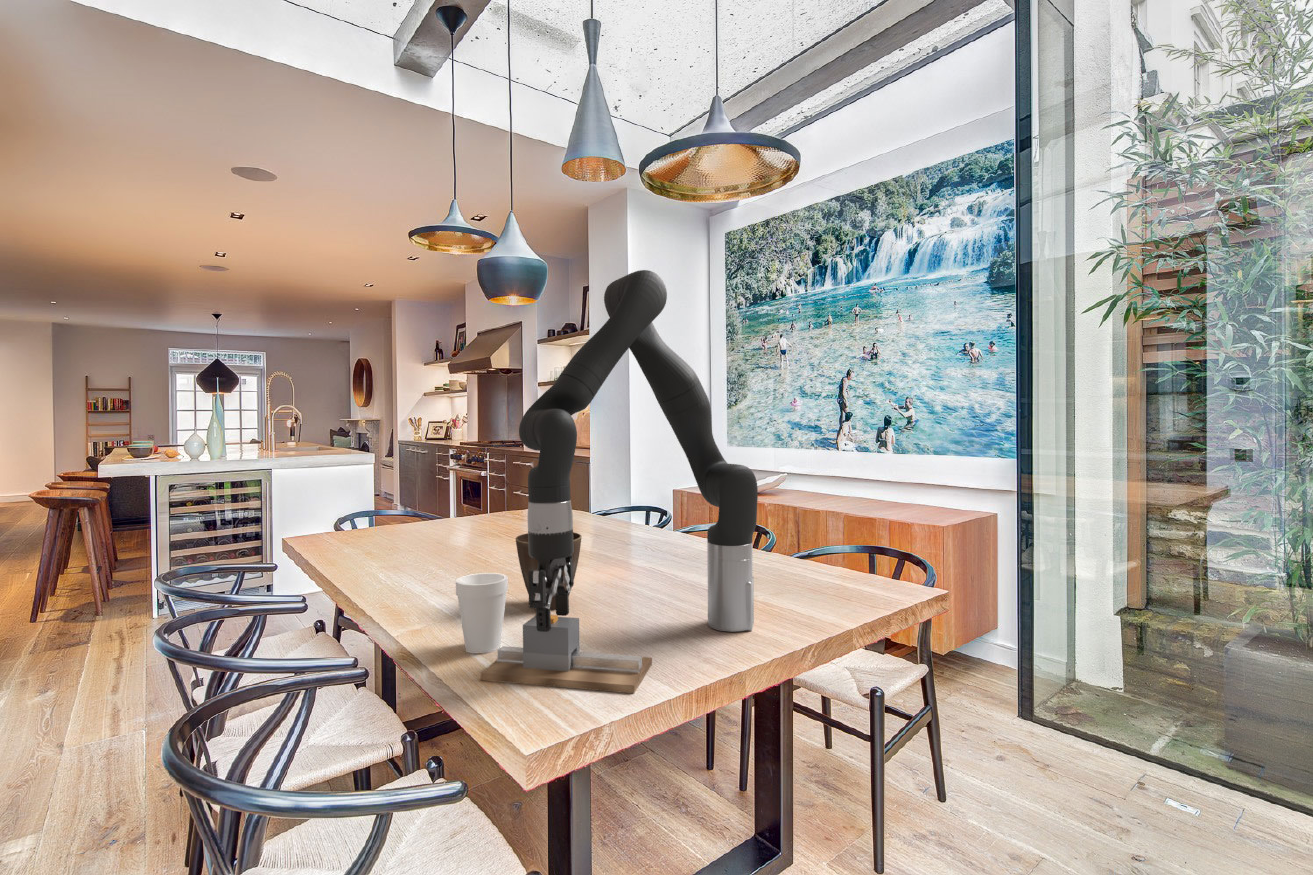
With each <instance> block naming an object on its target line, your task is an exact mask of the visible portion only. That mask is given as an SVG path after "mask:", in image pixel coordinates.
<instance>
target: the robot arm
mask: <svg viewBox="0 0 1313 875" xmlns="http://www.w3.org/2000/svg"><path fill="white" fill-rule="evenodd" d="M667 299H668V292H667V288H666V284H665V283H664V280H663V279H662V277H661V276H659V274H657V273H655V272H654V271H651V270H648V269H641V270H635V271H632V272H630V273H629V274H626V275H624V276H621V277H619V278H618V279H615V280H614V281H612V282H610V283H609V284H608V285H607V286H606V289H605V292H604V296H603V301H604V307H605V310H606V313H607V315H608V317H609V318H608V319H607V321H606V322H605V323H604V324H603V325H602V327H601V328H599V329H598V331H597V332H596V333H594V335H593V336H591V337H590V339H588V340H587V341H586V342H585V343H584V344H583V345H582V346H581V347H580V348H579V349H578V350H577V351H576V353H575V354H574V355H573V356H572V357H571V359H570V360H569V362H568V363H567V364H566V365H565V367H564V369H563V370H562V371H561V373H560V374H559V376H558V377H557V378H556V380H555V382H554V383H553V385H551V387H549V388H548V389H547V390H546V391H544V393H543V394H541V395H540V397H539V398H537V399H536V400H535V401H534V402H533V403H532V405H530V407H529V408H528V409H527V410H526V412H525V413H524V415H523V416H522V418H521V420H520V423H519V426H518V436H519V439H520V441H521V444H523V446H525V447H527V449H530V450H533V451H539V454H538V455H539V456H538V461H537V465H536V466H534V467H532V468H530V469H529V472H528V474H527V476H528V477H527V492H528V493H527V494H528V495H527V497H528V498H527V499H528V503H527V504H528V507H527V533H528V548H529V556H530V557H532V558H535V559H537V560H538V567H537V570H530V571H529V595H528V607H529V609H535V616H536V625H537V630H538V631H540V632H548V631H549V630H550V629H551V615H552V614H551V610H550V605H551V600H552V597H553V596H555V602H556V610H555V615H558V617H566V616H568V615H569V613H570V605H569V604H570V601H569V600H570V598H569V597H570V594H571V591H570V587H574V584H575V582H574V581H575V578H574V579H573V560H572V554H573V552H574V543H573V532H574V520H573V519H574V518H573V516H574V515H573V508H572V501H571V499H572V498H571V471H572V467H573V463H574V458H575V453H576V449H577V440H578V432H577V426H576V422H575V420H574V418H573V417H572V416H573V415H574V414H577V413H579V412H582V411H584V410H586V409H587V407H589V406H590V404H591V403H592V401H593V400H594V398H595V397H596V395H597V393H598V392H599V391H600V389H601V388H602V385H603V384H604V383H605V381H606V380H607V378H608V377H609V375H610V374H611V372H612V371H613V369H614V368H615V367H616V365H617V364H618V363H619V361H621V358H622V357H623V356H624V354H626V352H627V351H628V349H629V350H630V351H631V353H632V355H633V357H634V358H635V361H637V364H638V366H639V368H640V369H641V371H642V373H643V375H644V377H645V379H646V381H647V383H648V384H649V386H650V388H651V391H652V392H653V394H654V396H655V399H656V400H657V403H658V406H660V409H661V410H662V411H661V412H663V414H664V416H665V418H666V420H667V421H668V424H669V426H670V427H671V428H672V429H671V430H672V431H673V433H674V435H675V436H676V439H677V441H678V443H679V445H680V446H681V449H682V451H683V453H684V455H685V457H686V459H687V461H688V463H689V465H690V466H689V467H690V468H691V471H692V474H693V477H694V479H695V481H696V482H695V483H696V485H697V487H698V488H699V491H700V493H701V496H702V497H703V498H704V500H705V501H706V502H707V503H708V504H710V505H712V506H713V507H716V508H718V518H717V519H718V520H717V522H716V523H715V524H713V525H711V526H709V527H708V528H707V531H706V532H707V534H706V538H707V540H706V543H707V546H706V548H707V549H706V550H707V552H706V553H707V561H706V562H707V626H708V627H709V628H711V629H714V630H717V631H720V632H721V631H722V632H729V633H730V632H733V633H734V632H744V631H753V627H754V622H755V608H754V607H755V602H754V601H755V598H754V597H755V583H754V582H755V581H754V580H755V579H754V576H753V571H754V569H753V565H754V564H753V560H754V559H753V556H754V555H753V540H754V539H753V536H754V533H755V530H756V528H757V520H758V519H757V518H758V517H757V516H758V500H759V499H758V498H759V496H758V493H759V489H758V482H757V479H756V475H755V473H754V471H753V470H752V469H751V468H749V467H748V466H746V465H743V464H735V463H728V462H727V460H726V459H725V457H724V456H723V455H722V453H721V451H720V450H719V448H718V445H717V444H716V441H715V438H714V434H713V426H712V410H711V409H712V408H711V402H710V400H709V397H708V395H707V392H706V391H705V388H704V387H703V385H702V383H701V381H700V378H699V377H698V375H697V373H696V371H695V370H694V369H693V368H692V367H691V365H689V364H688V362H687V361H685V360H684V358H682V357H681V356H679V355H678V354H677V353H676V352H675V351H673V349H671V347H669V345H667V344H666V342H664V340H663V339H662V337H661V336H660V335H659V333H658V332H657V329H656V327H655V325H654V323H653V322H654V321H655V319H656V318H657V317H658V316H660V314H661V313H662V311H663V310H664V308H665V306H666V304H667ZM534 593H535V594H536V596H535V598H534ZM556 593H557V594H556ZM568 593H570V594H568ZM546 596H547V597H546Z"/></svg>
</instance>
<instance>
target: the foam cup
mask: <svg viewBox="0 0 1313 875" xmlns="http://www.w3.org/2000/svg"><path fill="white" fill-rule="evenodd" d="M508 590H509V579H508V575H507V574H503V573H498V572H497V573H496V572H479V573H472V574H467V575H462V576H459V577H457V579H455V596H457V600H458V601H457V602H458V608H459V614H460V615H459V616H460V621H461V627H462V628H461V629H462V634H463V635H462V636H463V641H464V642H463V643H464V646H465V651H466V652H467V651H468V653H469V654H474V653H482V654H488V653H493V652H495V651H497V649H498V648H499V647H500V648H501V644H502V634H503V627H504V626H503V625H504V618H505V608H506V601H507V594H508V593H507V592H508ZM500 648H499V649H500Z"/></svg>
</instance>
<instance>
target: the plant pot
mask: <svg viewBox="0 0 1313 875" xmlns="http://www.w3.org/2000/svg"><path fill="white" fill-rule="evenodd" d="M582 537H583V536H582V535H581V534H580V533H578V532H574V531H573V543H574V552H573V554H572V560H573V579H574V580H575V578H576V577H575V576H576V573H577V569H578V564H579V558H580V554H581V553H580V552H581V547H582V546H581V545H582ZM515 544H516V551H517V552H516V553H517V556H518V558H517V559H518V563H519V568H520V571H521V576H522V578H523V583H524V586H525V589H526V591H527V594H528V596H529V571H530V570H537V567H538V560H537V559H535V558H532V557H530V556H529V548H528V532H526V533H523V534H520V535H517V536H516V537H515ZM571 591H572V587H570V593H568V594H569V595H570V594H571ZM556 594H557V593H556ZM535 596H536V594H535V593H534V598H535ZM546 597H547V596H546ZM550 611H556V602H555V596H553V597H552V600H551V605H550Z"/></svg>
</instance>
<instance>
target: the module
mask: <svg viewBox="0 0 1313 875" xmlns="http://www.w3.org/2000/svg"><path fill="white" fill-rule="evenodd" d="M550 615H551V629H550V630H549V631H548V632H540V631H538V630H537V625H536V615H534V616H533V617H532V618H530V619H529V620H527V621H526V622H525V623H523V624H522V648H523V668H533V669H545V670H557V671H570V669H571V653H572V652H573V651H575V652H581V650H580V649H581V648H580V643H581V642H580V618H579V617H570V616H569V617H568V616H567V617H566V616H559V615H557V614H550Z"/></svg>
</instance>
